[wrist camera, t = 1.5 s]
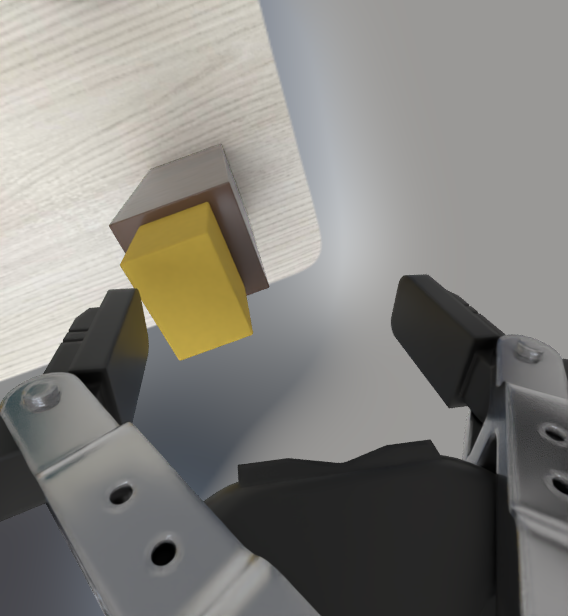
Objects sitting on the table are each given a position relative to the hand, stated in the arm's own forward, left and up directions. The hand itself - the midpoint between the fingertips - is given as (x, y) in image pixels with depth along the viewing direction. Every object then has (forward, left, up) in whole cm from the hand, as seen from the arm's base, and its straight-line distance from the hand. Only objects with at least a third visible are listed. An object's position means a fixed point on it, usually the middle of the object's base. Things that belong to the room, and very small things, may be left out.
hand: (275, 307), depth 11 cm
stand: (+2, -3, -22) cm, 22 cm away
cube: (+2, -3, -8) cm, 9 cm away
